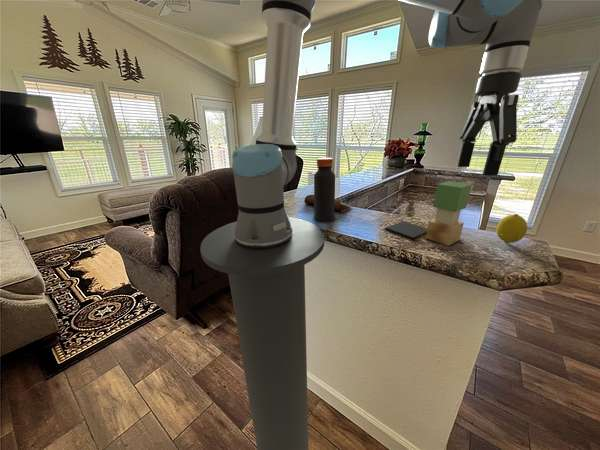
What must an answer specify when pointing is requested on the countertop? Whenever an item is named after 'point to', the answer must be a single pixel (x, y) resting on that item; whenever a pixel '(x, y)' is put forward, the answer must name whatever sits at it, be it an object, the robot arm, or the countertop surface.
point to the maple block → (444, 232)
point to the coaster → (407, 229)
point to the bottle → (324, 190)
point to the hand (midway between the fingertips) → (475, 170)
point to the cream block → (447, 216)
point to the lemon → (511, 228)
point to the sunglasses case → (337, 205)
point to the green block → (452, 196)
